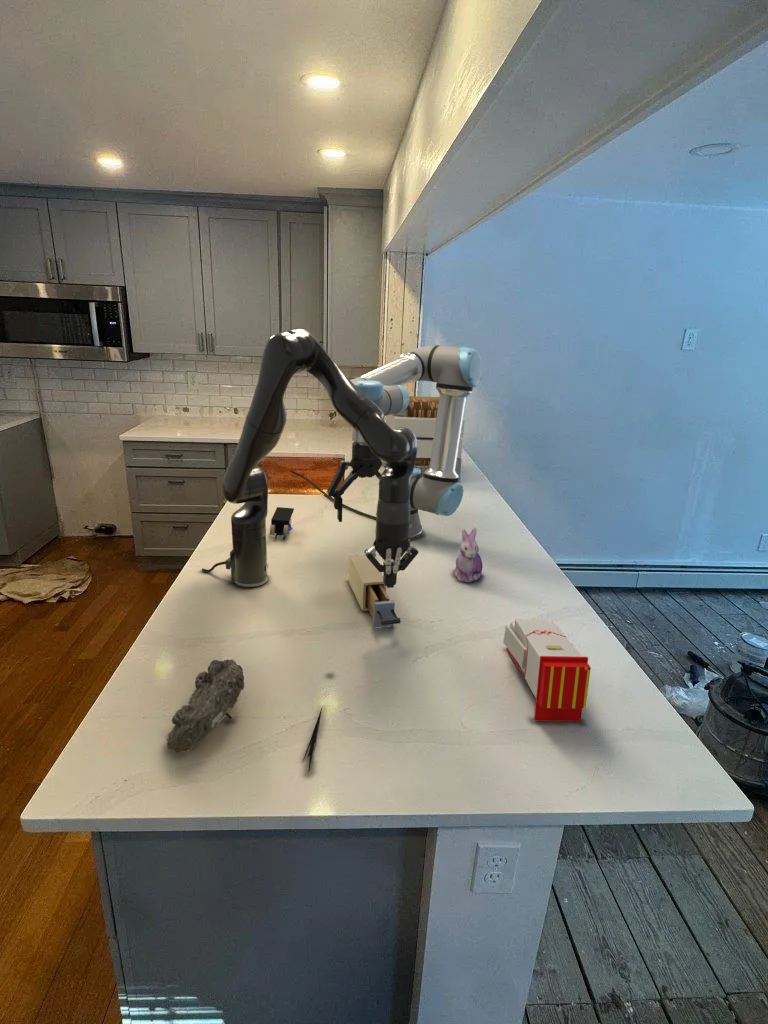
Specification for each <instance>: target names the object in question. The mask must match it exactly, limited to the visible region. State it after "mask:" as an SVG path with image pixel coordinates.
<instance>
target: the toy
mask: <svg viewBox="0 0 768 1024" xmlns="http://www.w3.org/2000/svg"><path fill="white" fill-rule="evenodd" d="M503 644H504V645H505V647H506V650H507V653H508V654H509V656H510V657H511V658H512V660H513V662H514V663H515V665H516V667H517V668H518V669H519V671H520V672H521V674H522V676H523V677H524V678H525V681H526V683H527V684H528V686H529V688H530V690H531V692H532V694H533V695H534V697H535V706H534V717H533V720H534V721H536V722H539V721H540V722H582V716H583V715H582V714H583V709H587V704H588V703H587V701H588V695H589V685H590V677H591V669H592V666H590V664H589V657H588V656H582V654H581V653H580V652H579V651H578V649H576V647H575V646H574V645H573V643H572V642H571V641H570V640H569V639H568V637H567V636H566V635H565V634H564V633H563V631H562V630H561V629H560V628H559V626H558V625H557V624H556V623H555V621H554V620H553V619H524V618H523V619H521V618H518V619H516V618H515V619H514V621H510V622H509V624H506V625H505V629H504V637H503Z"/></svg>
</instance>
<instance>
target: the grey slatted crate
mask: <svg viewBox="0 0 768 1024" xmlns="http://www.w3.org/2000/svg"><path fill="white" fill-rule="evenodd" d="M409 399H410V400H409V405H408V407H407V408H406V409H405V410H404V411H402V412H399V413H398V414H392V415H387V416H385V422H386V424H387V425H388V426H389V427H390V428H391V429H392V430H393V429H396V428H399V427H405V428H408V429H410V430H411V431H412V432H413V433H414V434H415V436H416V439H417V446H418V448H417V456H416V461H415V466H416V467H417V466H418V467H429V466H430V459H431V452H432V445H433V438H434V431H435V424H436V417H437V410H438V403H439V396H415V395H414V396H413V395H412V396H411V395H409ZM464 429H465V419H464V418H463V423H462V429H461V436H460V442H459V449H458V456H457V462H456V469H455V471H456V473H457V474H458V476H459V479H458V483H461V472H462V461H463V460H462V453H463V442H464V441H463V440H462V439H463V438H464V431H465V430H464ZM415 466H414V467H415Z"/></svg>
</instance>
